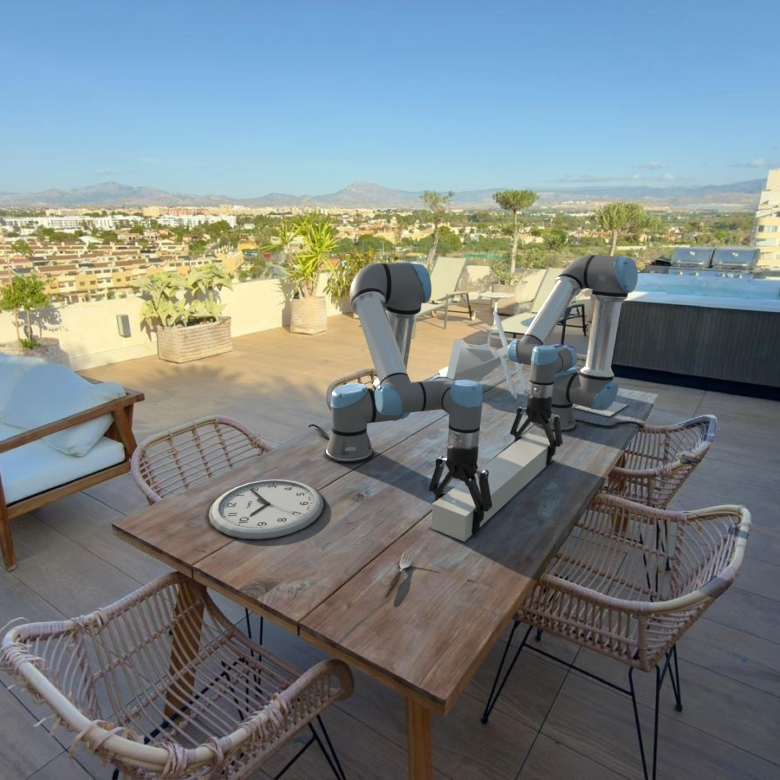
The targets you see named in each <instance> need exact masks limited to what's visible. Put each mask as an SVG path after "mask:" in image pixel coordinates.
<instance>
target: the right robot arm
mask: <svg viewBox="0 0 780 780" xmlns="http://www.w3.org/2000/svg"><path fill="white" fill-rule="evenodd" d="M638 278H639V271H638V266H637V264H636V262H635V260H634V259H633V258H631V257H627V256H622V255H618V256H617V255H598V254H597V255H595V254H587V255H583V256H581V257H579V258H577V259H575V260H573V261H572V262H570V263H569V264H568V265H566V266H565V267H564V268H563V269H562V270H561V272H560V273H558V275H557V277H556V279H554V280H555V281H554V287H553V289H552V291H551V292H550V293H549V295H548V297H547V298H546V300H545V301H544V303H543V305H542V306H541V308H540V309H539V311H538V312H537V314H536V316H535V317H534V319H533V320H532V322H531V324H530V325H529V326H528V328H527V330H526V331H525V333H524V335H522V337H521V339H514V340H512V341H510V343H509V344H508V345H509V346H508V350H507V355H508V358H509V359H510V360H509V361H511V362H513V363H514V362H517V363H520V365H526V366H530V371H529V372H530V373H529V381H528V393H529V395H528V396H527V400H526V407H523V406H522V405H521V406H519V407H517V408H516V415H515V418H514V421H513V423H512V426H511V429H510V431H509V435H511V436H514V443H515V442H517V441H518V440H519V439H521V438H522V437H523V436H522V435H523V433H524V432H525V431H526V429H527V428H528V427H529V425H530V424H531V423H532V424H535V425H536V426H537V427H539V428H542V429H543V431H544V433H545V435H546V438H548V440H549V443H550V445H549V446H548V451H547V460H546V465H547V466H546V467H548V466H550V465H551V464H552V462H553V460H552V456H553V457H554V456H555V455H556V450H557V448H560V447H561V446H562V445H563V443H564V441H563V435H562V432H567V431H572V430H574V429H575V428H576V423H578V424H579V423H580V424H584V425H588V426H593V427H599V428H604V429H613V428H615V427H617V426H618V425H636V426H638V427H639V428H641V429H645V426H643V424H641V423H640V422H637V421H632V420H628V421H627V420H626V421H625V420H624V421H616V422H615V423H614V424H610V425H609V424H602V423H601V424H600V423H596V422H590V421H587V420H582V419H576V418H575V417H576V416H575V413H574V407H573V405H575V406H578V405H580V406H584V407H588V408H591V409H596V410H600V411H603V410H606V409H608V408H609V407H610V406H611V404H612V403H613V402H615V399H616V398H617V395H618V391H619V382H618V381H617V380H615V373H614V372H613V371H612V362H613V356H614V350H615V345H616V340H617V333H618V332H617V331H618V327H619V320H620V316H621V309H622V303H623V302H624V301H625V300H627V299H628V297H629V294H631V293H633V292H634V291H635V289H636V287H637V284H638V280H639V279H638ZM585 289H588V290H591V296H592V297H593V299H594V300H595V301H594V307H593V314H592V320H591V326H590V333H589V338H588V339H589V340H588V346H587V352H586V359H585V364H584V366H583V367H582V368H581V369H579V372H578V368H577V367H575V366H576V364H577V362H578V355H577V353H576V350H575V351H574V350H573V349H572V348H570V347H560V348H556V347H552V346H551V345H545V344H546V343H547V341H548V340H549V337H550V336H551V334H552V333H553V331H554V329H555V328H556V327H557V325H558V323H559V322H560V320H561V319H562V318H563V315H564V314H565V312H566V310H567V309H568V307H569V306H570V304H571V302H572V301H573V299H574V297H576V296H578V295H580V293H581V292H582V291H583V290H585ZM524 414H526V416H527V418H526V419H525V420H524V423H523V424H522V425H521V426H520V427H519V425H520V423H521V421H522V418H523V415H524Z"/></svg>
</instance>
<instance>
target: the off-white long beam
mask: <svg viewBox="0 0 780 780" xmlns="http://www.w3.org/2000/svg"><path fill="white" fill-rule="evenodd" d="M549 445H550V443H549V440H548V438H547V437H544V436H540V435H537V434H533V433H529V432H528V433H526V434H525V435H523V436H522V438H521V439H519V440H518V441H517V442H515V441H514V443H512V444H511V445H510V446H509V447H507V448H506V449H505V450H503V451H502V452H500V453H499V454H498V455H496V456H495V457H493V458H492V459H491V460H490V461H488V462H487V463H486V464H484V465H483V466H481V467H480V468H479V469H481V470H483V471H485V470H488V471H489V476H488V483H489V489H490V495H491V501H492V508H490V509H489V510H488V511H487V512H485V511H484V519H483V520H482V521H481V522H480V528H481V527H482V526H483V525H484V524H485V523H487V521H489V520H490V519H491V518H492V517H493V516H494V515H495V514H496V513H497V512H498V511H500V509H502V507H504V506H505V505H506V504H507V503H508V502H509V501H510V500H511V499H512V498H513V497H515V496H516V495H517V493H519V492H520V491H521V490H522V489H523V488H524V487H525V486H526V485H528V484H529V483H530V482H531V481H532V480H533V479H534V478H535V477H536V476H537V475H539V474H540V473H541V471H543V470H544V469H545V468H546V467H548V466H547V465H546V460H547V451H548V446H549ZM553 460H554V456H552V461H553ZM475 477H476V483H477V485H478V488H479V490H480V486H479V479H478V475H477V474H475ZM470 480H471V478H470V479H469V481H470ZM480 493H481V492H480ZM444 494H445V495H444V496H442V497H441V498H440V499H438V500H437V501H436V502H435V501H434V502H433V503H432V507H431V508H432V509H431V510H432V511H431V529H432V530H434V531H437V532H440V533H442V534H444V535H447V536H448V537H452V538H454V539H457V540H459V541H462V542H464V543H465V542H466V541H467V540H469V538H470V537H471V536H472V535H473V534H472V523H473V510H474V509H476V507H475V504H474V502H473V499H472V497H471V494H470V491H469V489H468V487H467V486H466V485H465V482H464V481H461V482H460V483H458V484H457V485H455V486H454V487H453V488H451V489H450V490H449V491H448V492H446V493H444Z"/></svg>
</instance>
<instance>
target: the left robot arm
mask: <svg viewBox="0 0 780 780" xmlns="http://www.w3.org/2000/svg"><path fill="white" fill-rule="evenodd" d="M432 289H433V287H432V280H431V276H430V273H429V271H428V269H427V267H426V266H425V265H424V264H422V263H419V262H410V261H408V262H373V263H372V262H371V263H370V264H367V265H365V266H363V267H362V268H361V269H360V270H359V271H358V272H357V273H356V274H355V276H354V278H353V280H352V282H351V284H350V289H349V303H350V307H351V310H352V312H353V313H354V314H355V315H356V316H357V317H358V319H359V322H360V325H361V329H362V331H363V335H364V339H365V342H366V345H367V347H368V350H369V354H370V357H371V360H372V364H373V367H374V370H375V373H376V376H377V377H375V379H374V380H373V383H372V384H373V386H372V387H367V385H366V384H364V383H361V382H360V383H359V382H358V383H355V382H354V383H353V382H351V383H346V384H342V385H339V386H337V387H336V388H334V389H333V390H332V392H331V397H330V409H331V410H330V412H331V413H330V415H331V416H330V418H331V433H330V436H327V435H325V434H323V432H324V429H323V428H321V427H320V426H319V425H317V424H315V423H310V424H309V425H307V427H308V428H311V427H314V428H316V429H318V430H319V431H320V433H319V435H320V436H321V437H323V438H324V439H327V440H328V443H327V445H326V456H327V458H329V459H330V460H332V461H334V462H338V463H342V464H354V463H355V464H356V463H360V462H365V461H366V460H368V459H369V458H371V457H372V455H373V447H372V443H371V441H370V437H369V434H368V424H374V423H382V422H390V421H393V422H396V421H399V420H404V419H406V418H408V417H409V415H410V414H411V413H418V412H430V411H439V410H443V411H444V412H445V413H447V414H448V431H447V442H448V443H447V445H446V447H447V449H446V457H445V456H443V455H441V456H439V457H437V458H436V459H435V460H434V461H435V468H434V471H433V473H432V476H431V480H430V484H429V487H428V491H429V492H432V493H433V494H434V495H435V496H434V502H436V501H437V500H438V499H440V498H441V497H442V496H444V495H445V494H446V493H444V492H445V490H446V489H447V488H448V486H449V484H450V483H451V481H452V480H453V479H455V480H459V481H461V482H463V481H464V482H465V485H466V486H467V487H468V489H469V491H470V494H471V497H472V499H473V502H474V504H475V507H476V509H474V510H473V523H472V535H476V534H477V533H478V532H479V531H480V528H481V527H480V522H481V521H482V520H483V519H484V511H485V512H487V511H488V510H489V509H490V508H492V501H491V495H490V489H489V483H488V476H489V471H488V470H485V471H483V470H481V469H480V468H479V465H478V461H479V459H478V458H479V445H480V436H481V435H480V431H481V420H482V410H483V403H484V399H483V386H482V384H481V383H480V382H475V381H471V380H457V381H454V380H453V379H451V378H448V377H445V376H443V375H440V374H437V375H433V376H432V377H431V378H429V379H428V380H422V381H421V380H420V381H411V379H410V377H409V373H408V363H409V355H410V351H411V350H410V349H411V343H412V336H413V331H414V323H415V316H416V315H418V314H420V312H421V310H422V305H423V304H426V303H428V302H429V300H431V297H432V292H433V291H432ZM445 466H446V467H447V469H448V472H447V473H446V475H445V477H444V478H443V480H442V481H441V477H442V475H443V471H444V468H445ZM475 474H477V475H478V479H479V486H480V490H479V488H478V485H477V483H476V477H475ZM470 478H471V480H470V481H469V479H470ZM440 481H441V482H440ZM480 492H481V493H480Z"/></svg>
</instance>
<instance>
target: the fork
mask: <svg viewBox="0 0 780 780" xmlns="http://www.w3.org/2000/svg"><path fill="white" fill-rule="evenodd" d="M406 549H407V551H406ZM408 553H409V554H408ZM411 553H412V555H411ZM414 555H415V551H413V552H412V549H410V552H409V548H406V547H404V551H403V553H402V556H401V558H400V561H399V566H400V569H399V570H398V572H397V573H396V574H395V575H394V577H393V578H392V580H391V583H390V585H389V587H388V590H387V592H386V594H385V599H387V598H388V596H389V595H390V594H391V592H392V591H393V589H394V588H395V587H396V585H397V583H398V582H399V579H400V576H401V574H402V571H403V570H405V569H408V568H409V567H411V565H412V562H413V559H414ZM410 557H411V558H410Z"/></svg>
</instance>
